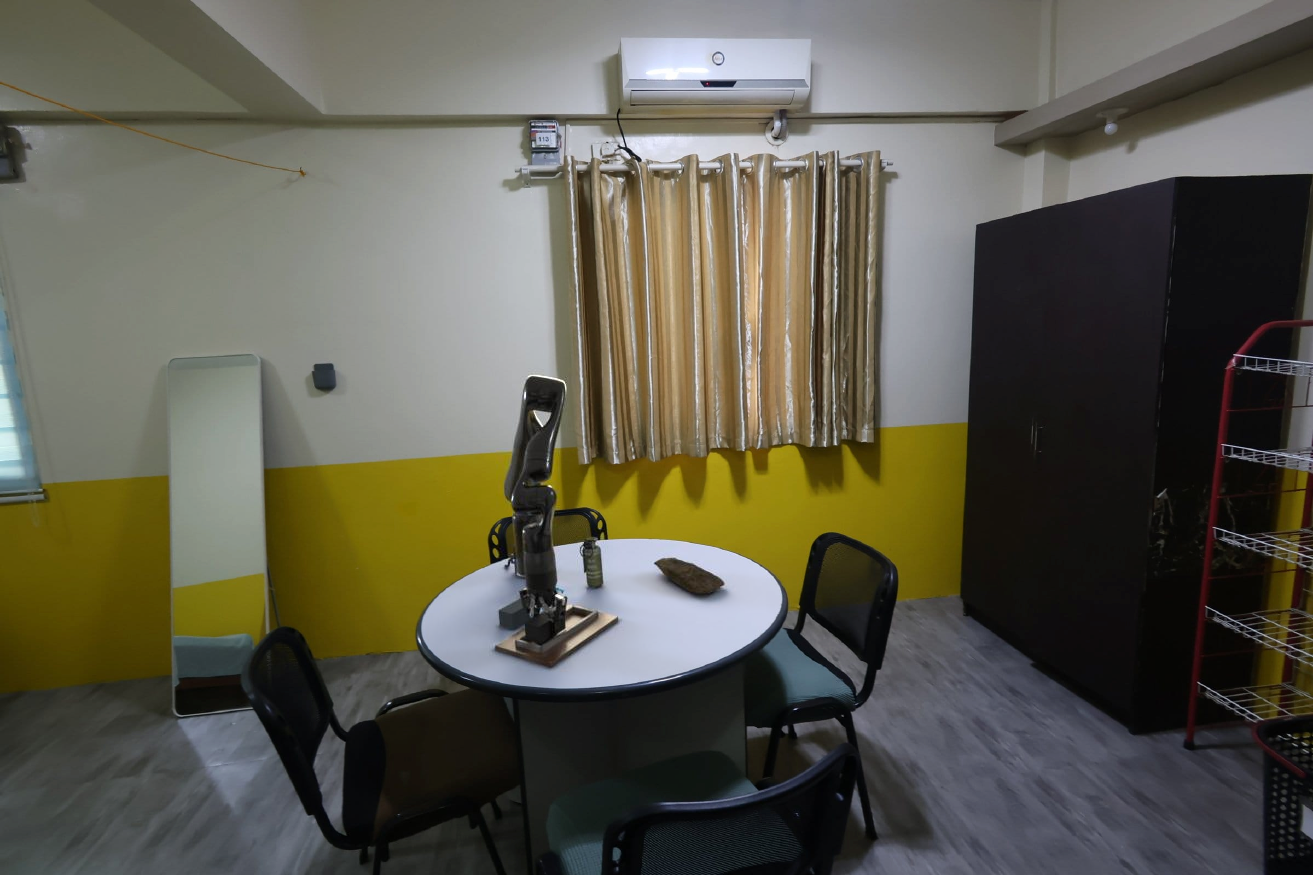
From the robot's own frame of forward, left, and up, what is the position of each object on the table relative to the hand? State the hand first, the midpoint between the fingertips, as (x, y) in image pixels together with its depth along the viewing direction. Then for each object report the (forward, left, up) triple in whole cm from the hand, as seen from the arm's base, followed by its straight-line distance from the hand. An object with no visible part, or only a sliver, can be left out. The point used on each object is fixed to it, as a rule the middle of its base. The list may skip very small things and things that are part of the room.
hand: (546, 632), depth 150 cm
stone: (+13, +47, -3) cm, 48 cm away
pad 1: (-15, +6, -3) cm, 16 cm away
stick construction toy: (-18, +19, -3) cm, 26 cm away
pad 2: (0, 0, 0) cm, 0 cm away
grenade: (-11, +33, -3) cm, 35 cm away
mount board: (0, +5, -3) cm, 5 cm away
